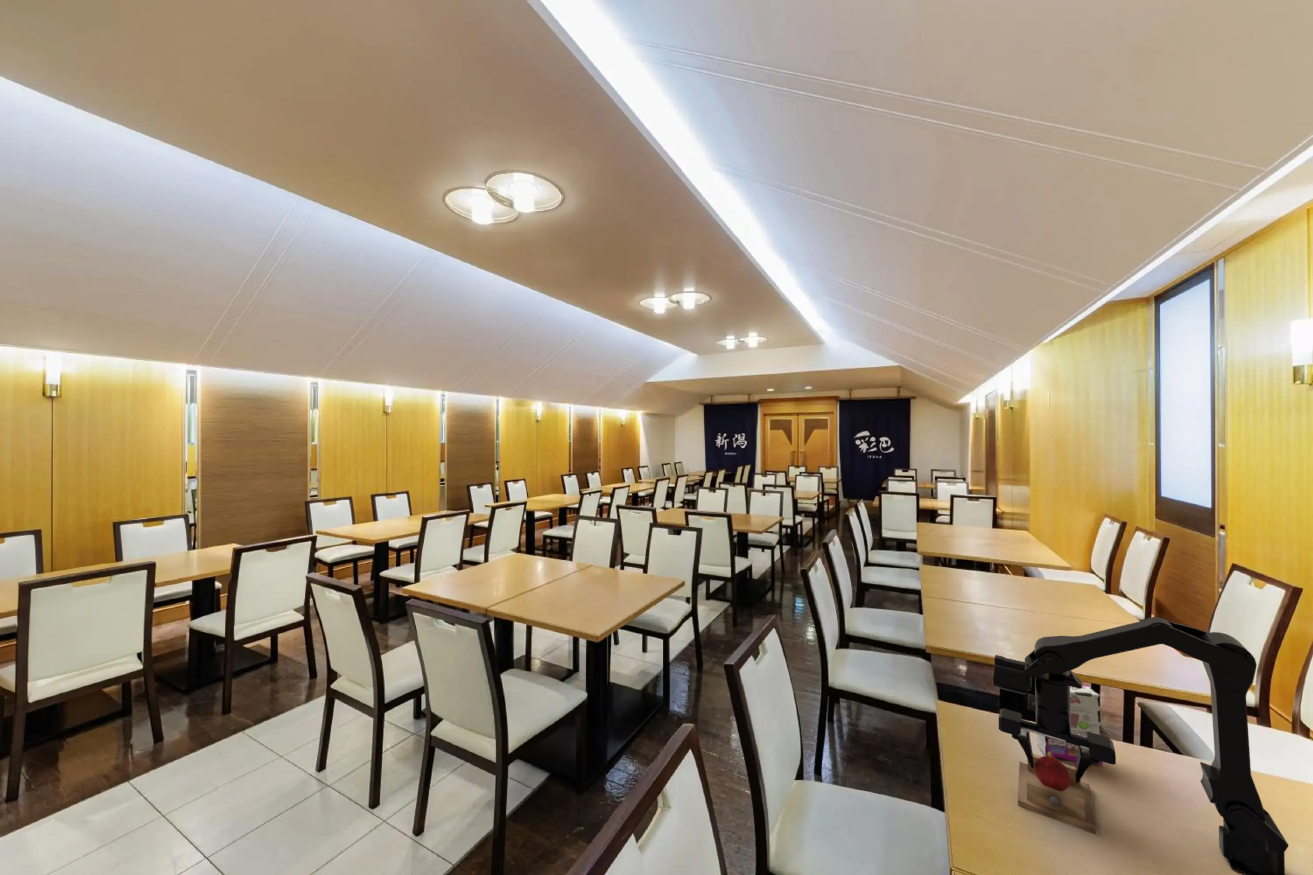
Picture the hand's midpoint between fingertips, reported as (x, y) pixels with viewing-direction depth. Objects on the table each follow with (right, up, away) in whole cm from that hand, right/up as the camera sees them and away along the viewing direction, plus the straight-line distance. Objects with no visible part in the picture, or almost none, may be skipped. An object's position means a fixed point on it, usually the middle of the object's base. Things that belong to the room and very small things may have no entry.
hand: (1054, 774), depth 101 cm
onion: (0, -4, 0) cm, 4 cm away
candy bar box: (+14, -5, +13) cm, 20 cm away
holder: (0, -5, 0) cm, 5 cm away
